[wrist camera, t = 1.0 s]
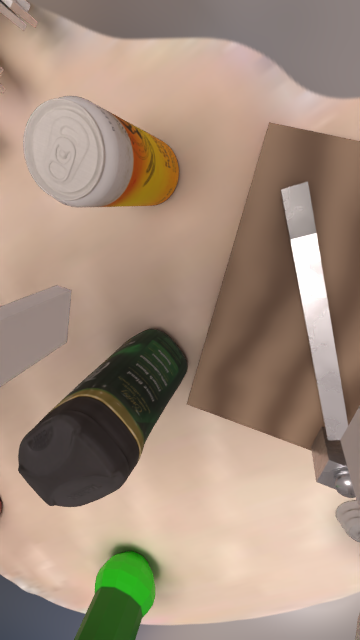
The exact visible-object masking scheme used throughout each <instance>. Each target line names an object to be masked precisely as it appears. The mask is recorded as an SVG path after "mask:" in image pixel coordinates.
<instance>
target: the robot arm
mask: <svg viewBox="0 0 360 640" xmlns="http://www.w3.org/2000/svg"><path fill="white" fill-rule="evenodd" d="M70 301H71V290H70V289H67V288H64V287H61V286H58V285H56V286H53V287H51V288H48V289H46V290H43V291H40V292H38V293H35V294H32V295H30V296H27V297H24V298H22V299H19V300H17V301H14V302H11V303H9V304H6V305H3V306H1V307H0V387H1V386H2V385H4V384H5V383H7V382H8V381H10V380H11V379H13V378H14V377H16V376H17V375H19V374H20V373H22V372H23V371H25V370H26V369H28V368H29V367H31V366H32V365H34V364H35V363H37V362H38V361H40V360H41V359H43V358H44V357H46V356H47V355H49V354H50V353H51V352H53V351H54V350H56V349H57V348H59V347H60V346H62V345H63V344H65V343H66V342H67V335H68V324H69V313H70ZM340 441H341V445H342V449H343V452H344V456H345V460H346V463H347V467H348V470H349V474H350V478H351V481H352V485H353V489H354V492H355V496H356V500H357V503H358V507H359V511H360V406H359V408H358V410H357V411H356V413H355V415H354V417H353V418H352V420H351V422H350V424H349V426H348V427H347V429H346V431H345V433H344V434H343V436H342V438H341V440H340Z"/></svg>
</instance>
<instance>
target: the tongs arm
mask: <svg viewBox="0 0 360 640" xmlns="http://www.w3.org/2000/svg"><path fill="white" fill-rule="evenodd" d="M281 197H282V202H283V207H284V213H285V218H286V223H287V229H288V234H289V239H290V245H291V250H292V255H293V261H294V266H295V271H296V277H297V282H298V287H299V293H300V298H301V303H302V308H303V314H304V319H305V324H306V330H307V335H308V340H309V346H310V351H311V356H312V362H313V367H314V372H315V378H316V383H317V388H318V394H319V399H320V404H321V410H322V415H323V420H324V425H325V429H326V434H327V438H328V440H341V438H342V436H343V434H344V433H345V431H346V429H347V427H348V422H347V415H346V409H345V403H344V397H343V391H342V385H341V379H340V373H339V367H338V361H337V355H336V349H335V343H334V337H333V331H332V325H331V318H330V312H329V306H328V300H327V294H326V288H325V282H324V276H323V270H322V264H321V258H320V252H319V246H318V240H317V234H316V227H315V221H314V215H313V209H312V203H311V197H310V191H309V185H308V181H307V182H304V183H301V184H298V185H294V186H291V187H288V188H285V189H282V190H281Z"/></svg>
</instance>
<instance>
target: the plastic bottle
mask: <svg viewBox="0 0 360 640" xmlns="http://www.w3.org/2000/svg"><path fill="white" fill-rule="evenodd" d="M154 599H155V583H154V576H153V573H152V570H151V568H150V566H149V564H148V562H147V560H146V559H145V558H144V557H143V556H142V555H140V554H138V553H136V552H133V551H125V552H124V553H120V554H116V555H114V556H112V557H111V558H110V559H109V560H108V561H107V562H106V563H105V564H104V565H103V567H102V568H101V569H100V570H99V572H98V574H97V576H96V583H95V595H94V597H93V599H92V602H91V604H90V606H89V608H88V610H87V612H86V615H85V617H84V619H83V621H82V624H81V626H80V628H79V630H78V632H77V634H76V636H75V639H74V640H135V638H136V635H137V632H138V629H139V626H140V623H141V619H142V618H143V616H144V615H145V614H146V613H147V612H148V611H149V609H150V608H151V607H152V605H153V602H154Z"/></svg>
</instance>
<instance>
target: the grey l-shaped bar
mask: <svg viewBox="0 0 360 640" xmlns="http://www.w3.org/2000/svg"><path fill="white" fill-rule="evenodd" d="M311 449H312V456H313V462H314V469H315V476H316V482H318V483H321V484H323V485H326V486H329V487H331V488H334V489H336V490H337V491H338V493H340V494H341V495H343V496H345V497H349V498H354V497H356V496H355V492H354V489H353V485H352V481H351V478H350V474H349V470H348V467H347V463H346V460H345V456H344V452H343V449H342V445H341V441H340V440H328V438H327V434H326V429H325V427H321V429H320V431H319V433H318V434H317V436H316V438H315V440H314V442H313V444H312V446H311Z"/></svg>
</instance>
